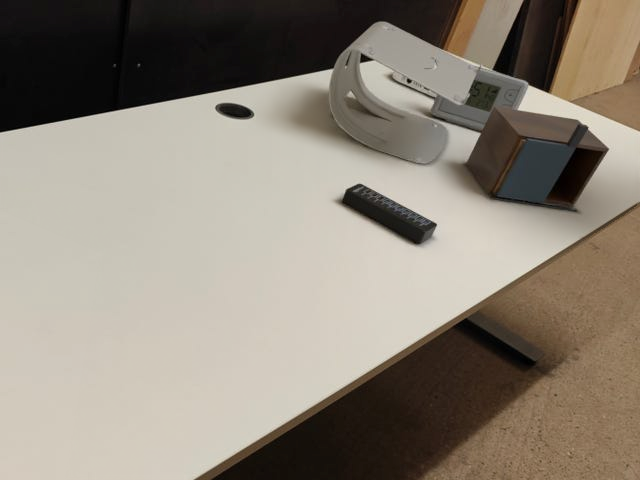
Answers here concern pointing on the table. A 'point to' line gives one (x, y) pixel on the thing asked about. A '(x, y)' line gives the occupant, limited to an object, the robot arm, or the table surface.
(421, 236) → the multiport hub
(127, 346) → the table surface
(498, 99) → the digital clock
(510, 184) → the sliding door
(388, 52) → the laptop stand
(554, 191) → the cupboard
